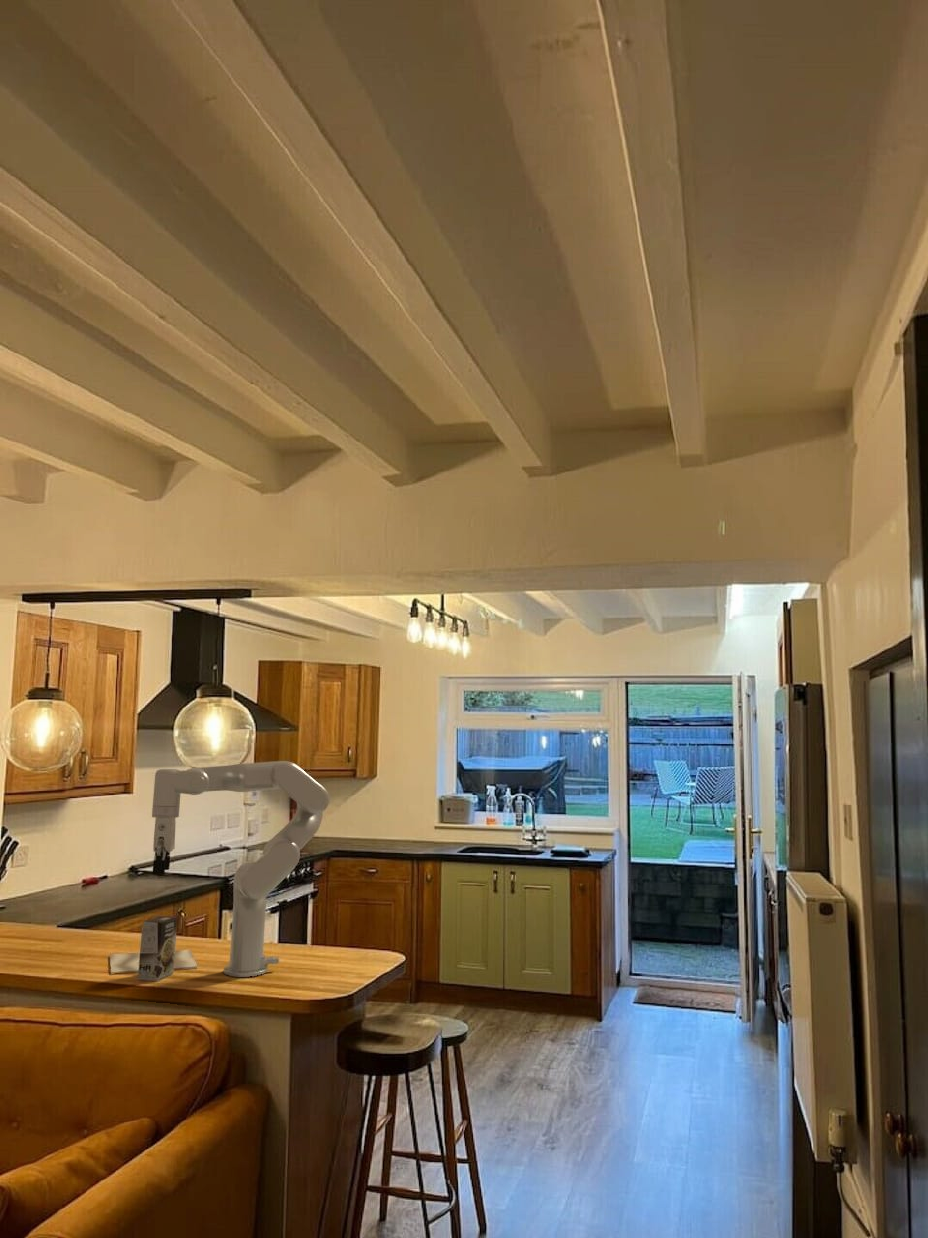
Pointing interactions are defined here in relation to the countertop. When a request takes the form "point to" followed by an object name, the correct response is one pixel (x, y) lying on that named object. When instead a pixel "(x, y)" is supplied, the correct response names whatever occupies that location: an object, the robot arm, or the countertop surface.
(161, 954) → the coffee box
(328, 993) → the countertop surface
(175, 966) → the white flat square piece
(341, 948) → the countertop surface
